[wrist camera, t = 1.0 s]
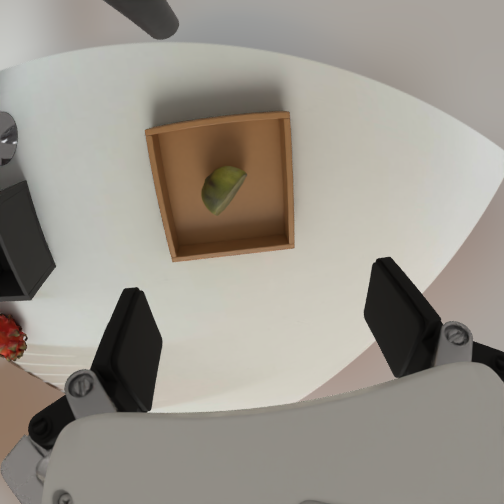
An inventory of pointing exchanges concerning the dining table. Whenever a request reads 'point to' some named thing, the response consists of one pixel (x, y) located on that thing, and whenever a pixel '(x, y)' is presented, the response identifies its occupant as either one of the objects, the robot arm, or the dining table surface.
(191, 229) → the box
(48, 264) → the dark grey open box
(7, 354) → the dragon fruit
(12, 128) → the wine glass
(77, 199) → the dining table surface
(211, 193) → the lime
